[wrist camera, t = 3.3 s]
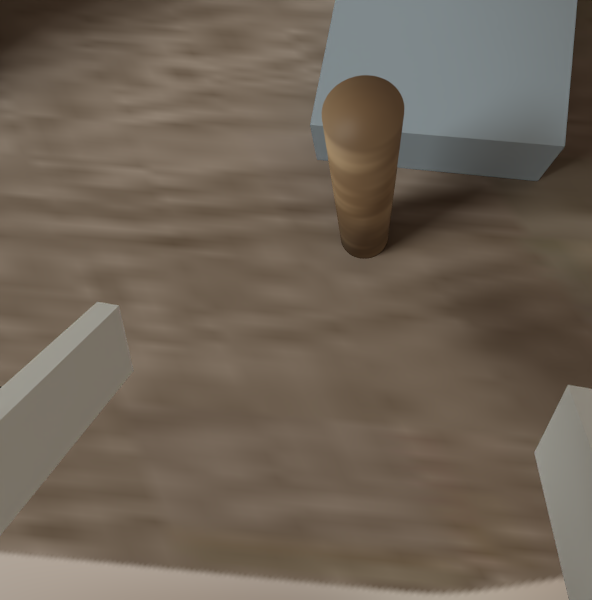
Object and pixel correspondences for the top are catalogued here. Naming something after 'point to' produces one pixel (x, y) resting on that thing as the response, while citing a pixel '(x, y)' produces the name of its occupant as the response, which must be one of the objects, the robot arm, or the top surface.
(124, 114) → the top surface
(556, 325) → the top surface
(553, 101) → the hole block
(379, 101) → the peg
